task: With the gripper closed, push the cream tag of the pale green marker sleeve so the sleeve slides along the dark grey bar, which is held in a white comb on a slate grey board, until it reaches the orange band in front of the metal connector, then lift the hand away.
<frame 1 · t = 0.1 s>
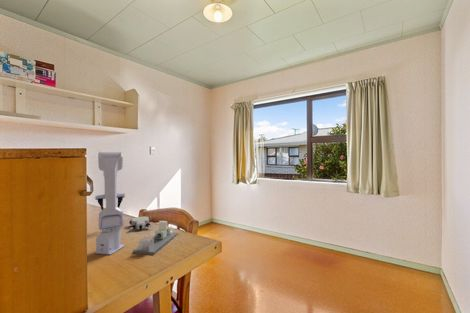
hand: (110, 210, 128), 11 cm above the table, tool pointing down, fingers open, 7 cm apart
robot toy: (140, 227, 131), on the table
dark grey bar: (157, 236, 107), point 2 cm above the table
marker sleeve: (161, 229, 111), point 5 cm above the table, slide at 0.0 cm
board: (157, 242, 108), on the table
connector: (147, 243, 99), point 3 cm above the table
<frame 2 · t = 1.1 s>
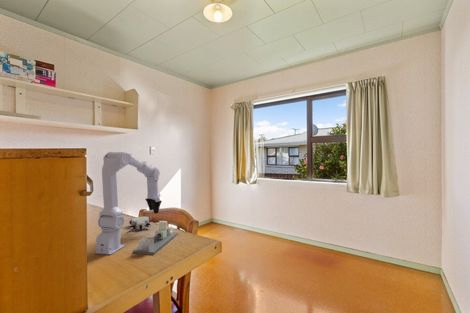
hand: (153, 211, 128), 10 cm above the table, tool pointing down, fingers open, 7 cm apart
nothing on the table moved.
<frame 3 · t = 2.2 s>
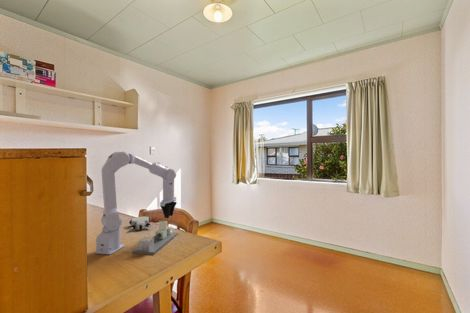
hand: (168, 216, 119), 9 cm above the table, tool pointing down, fingers open, 4 cm apart
nothing on the table moved.
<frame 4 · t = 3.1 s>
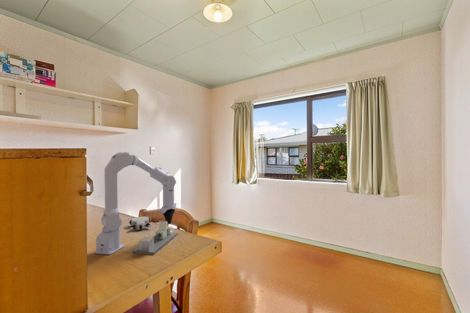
hand: (168, 223, 119), 6 cm above the table, tool pointing down, fingers closed
nothing on the table moved.
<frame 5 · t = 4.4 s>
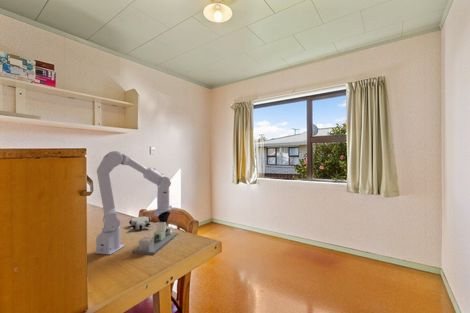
hand: (163, 226, 113), 6 cm above the table, tool pointing down, fingers closed
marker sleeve: (159, 230, 110), point 5 cm above the table, slide at 1.7 cm, touching gripper
everything else where it was.
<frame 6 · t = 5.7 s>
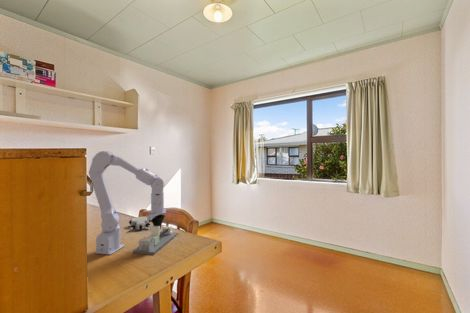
hand: (157, 230, 107), 6 cm above the table, tool pointing down, fingers closed
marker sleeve: (153, 235, 104), point 5 cm above the table, slide at 7.5 cm, touching gripper
everything else where it was.
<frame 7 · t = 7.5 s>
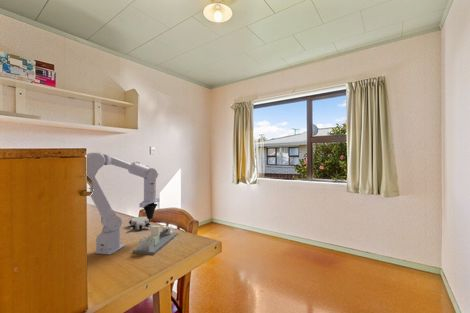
hand: (149, 218, 113), 10 cm above the table, tool pointing down, fingers closed
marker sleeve: (153, 235, 104), point 5 cm above the table, slide at 7.6 cm
everything else where it was.
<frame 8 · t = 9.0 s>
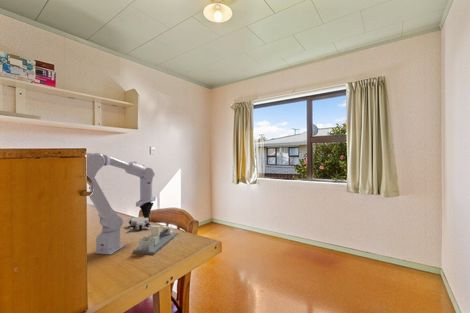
hand: (146, 217, 114), 10 cm above the table, tool pointing down, fingers closed
nothing on the table moved.
at the end: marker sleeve slide at 7.6 cm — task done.
